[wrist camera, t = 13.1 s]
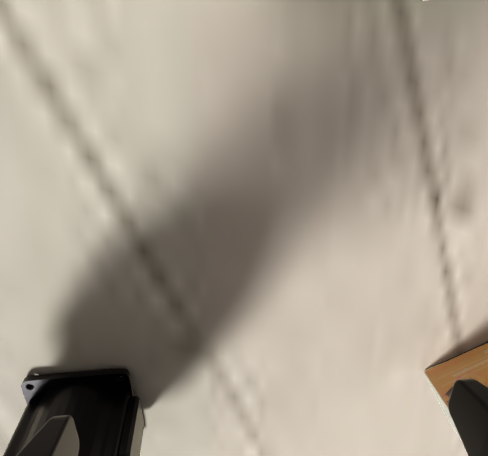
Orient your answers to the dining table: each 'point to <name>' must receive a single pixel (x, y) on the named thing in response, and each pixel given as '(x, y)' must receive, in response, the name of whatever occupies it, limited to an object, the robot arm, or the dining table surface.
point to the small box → (457, 375)
